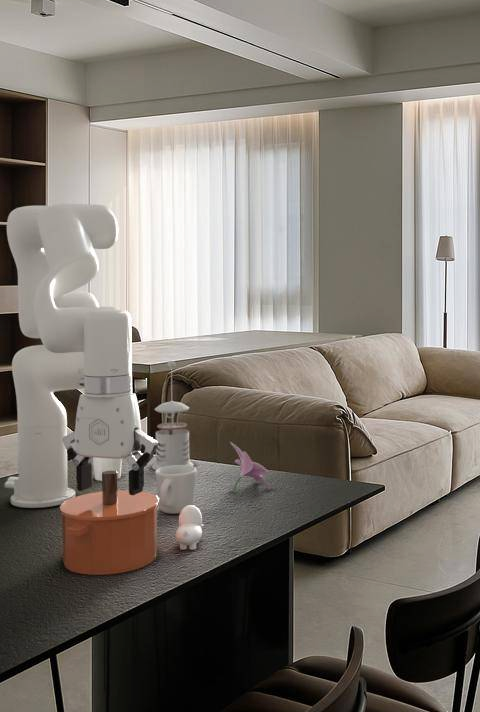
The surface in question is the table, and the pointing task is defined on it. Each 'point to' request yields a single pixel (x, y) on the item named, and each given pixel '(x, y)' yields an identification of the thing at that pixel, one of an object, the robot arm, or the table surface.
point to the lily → (250, 467)
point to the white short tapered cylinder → (106, 466)
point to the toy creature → (189, 527)
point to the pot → (109, 544)
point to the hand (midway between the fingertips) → (110, 491)
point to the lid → (109, 502)
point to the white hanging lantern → (172, 436)
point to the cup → (175, 487)
